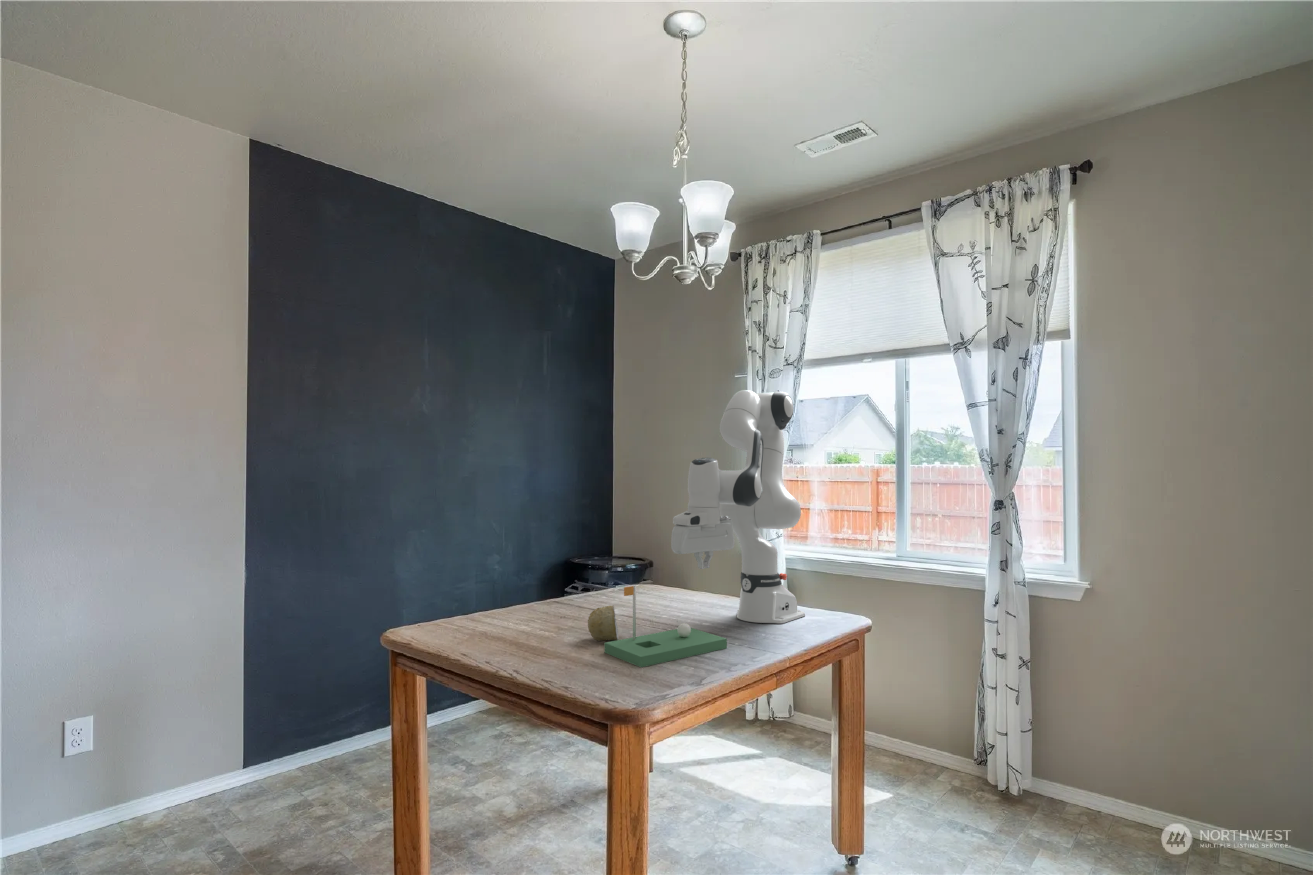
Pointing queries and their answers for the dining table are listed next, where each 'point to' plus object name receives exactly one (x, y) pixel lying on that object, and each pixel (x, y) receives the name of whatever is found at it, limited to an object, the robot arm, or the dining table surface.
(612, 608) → the coral
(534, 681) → the dining table surface
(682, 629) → the ball
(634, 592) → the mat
